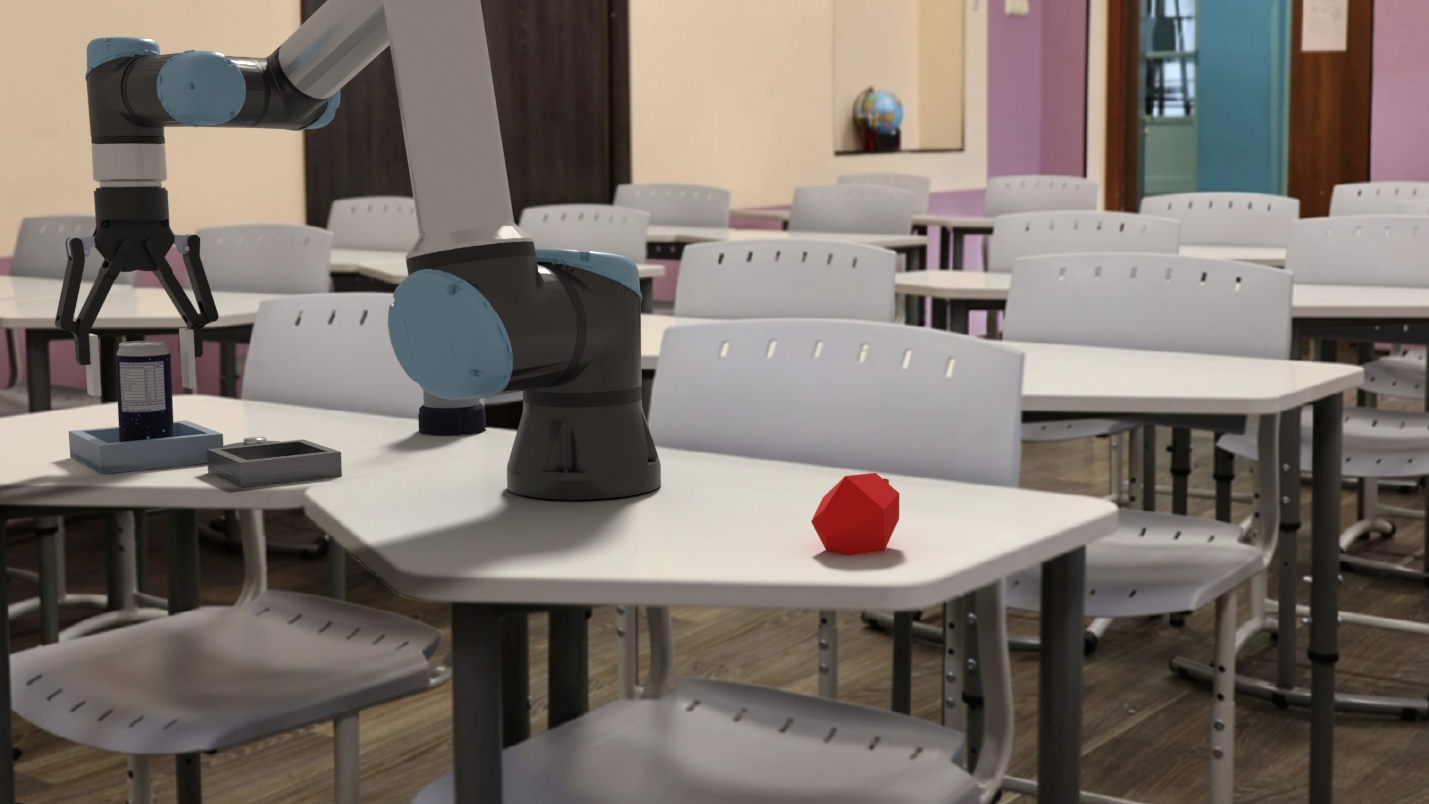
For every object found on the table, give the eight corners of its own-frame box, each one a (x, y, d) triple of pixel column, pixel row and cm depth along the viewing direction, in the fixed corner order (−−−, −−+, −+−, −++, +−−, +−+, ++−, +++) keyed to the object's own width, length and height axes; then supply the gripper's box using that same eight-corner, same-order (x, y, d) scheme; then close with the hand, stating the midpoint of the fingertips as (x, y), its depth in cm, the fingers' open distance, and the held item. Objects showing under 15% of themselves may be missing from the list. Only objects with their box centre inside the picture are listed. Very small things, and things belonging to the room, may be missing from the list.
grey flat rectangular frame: (341, 475, 167) (340, 450, 167) (241, 487, 161) (240, 461, 161) (282, 454, 181) (281, 431, 181) (188, 464, 175) (187, 440, 175)
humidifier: (464, 423, 203) (458, 223, 200) (498, 431, 197) (493, 223, 193) (406, 430, 198) (398, 224, 195) (439, 438, 192) (432, 225, 188)
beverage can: (185, 450, 180) (181, 342, 178) (144, 457, 175) (139, 347, 173) (150, 445, 182) (145, 339, 181) (108, 453, 178) (103, 344, 176)
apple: (837, 496, 126) (903, 449, 130) (783, 499, 131) (849, 454, 136) (871, 574, 127) (935, 525, 132) (817, 574, 133) (880, 526, 137)
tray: (224, 461, 177) (222, 433, 177) (101, 474, 170) (99, 445, 169) (187, 445, 188) (186, 420, 187) (70, 457, 180) (68, 431, 180)
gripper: (221, 184, 184) (231, 380, 187) (13, 186, 171) (27, 396, 174) (243, 183, 178) (253, 386, 181) (29, 185, 165) (44, 403, 168)
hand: (142, 391), depth 178 cm, fingers open, 9 cm apart
